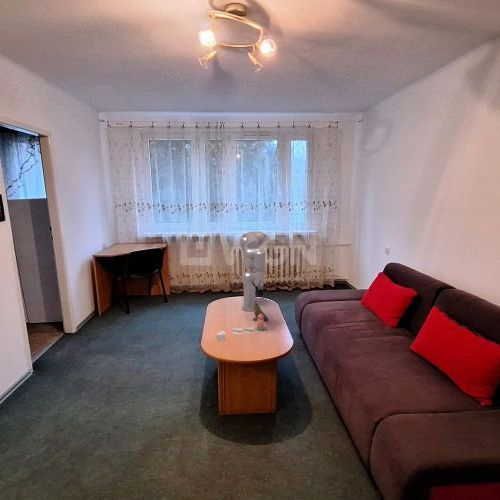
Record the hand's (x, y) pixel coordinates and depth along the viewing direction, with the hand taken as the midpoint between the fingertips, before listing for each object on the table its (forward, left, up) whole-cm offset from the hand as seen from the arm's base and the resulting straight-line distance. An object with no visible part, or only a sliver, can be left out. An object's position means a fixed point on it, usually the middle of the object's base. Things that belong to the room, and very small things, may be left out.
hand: (259, 292), depth 221 cm
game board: (+2, -7, -27) cm, 28 cm away
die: (+12, -27, -27) cm, 41 cm away
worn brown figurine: (-15, +4, -27) cm, 31 cm away
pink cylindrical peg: (+2, +1, -26) cm, 26 cm away
